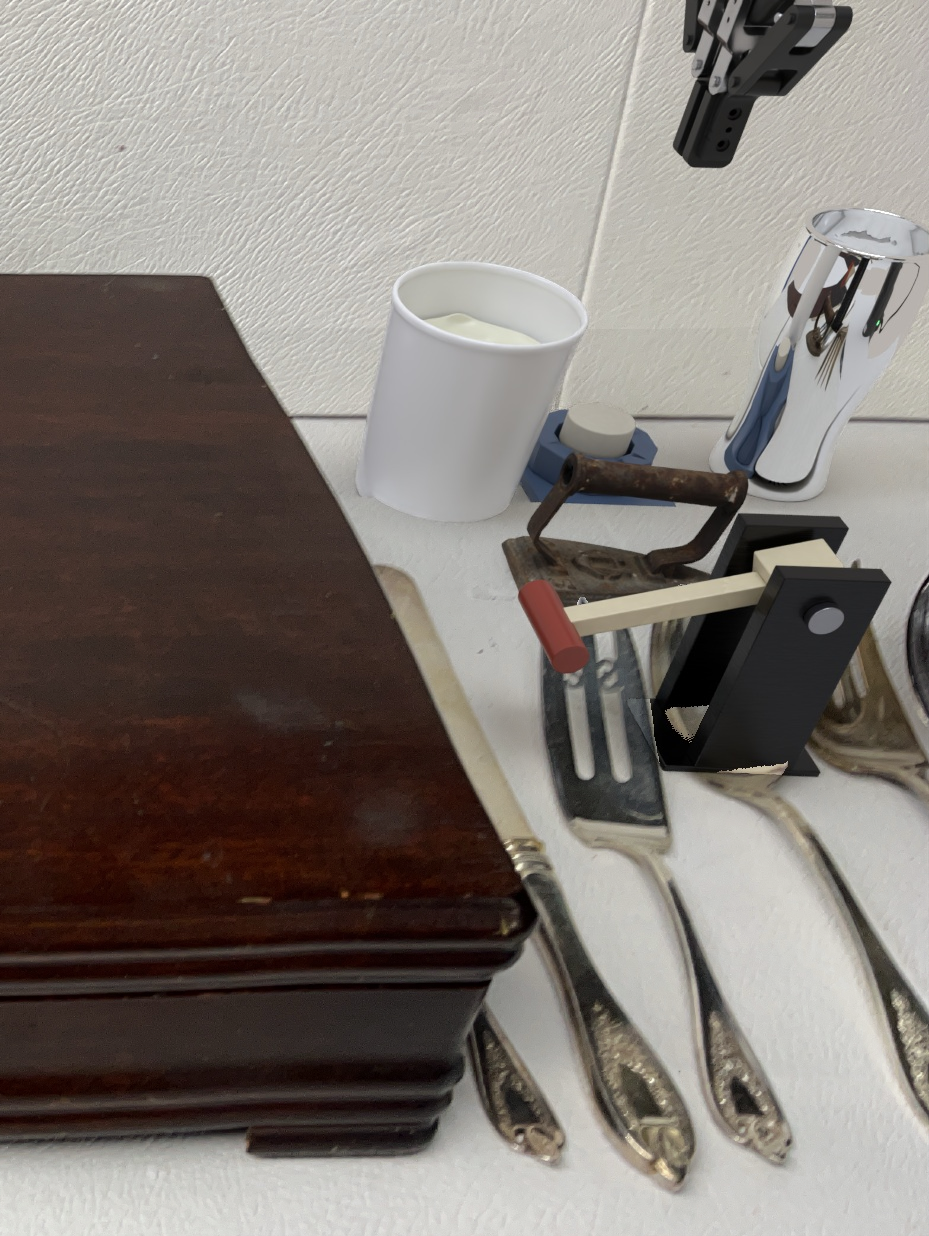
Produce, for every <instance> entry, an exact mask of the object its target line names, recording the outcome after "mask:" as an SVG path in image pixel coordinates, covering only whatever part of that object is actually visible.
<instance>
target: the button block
mask: <svg viewBox="0 0 929 1236" xmlns="http://www.w3.org/2000/svg"><path fill="white" fill-rule="evenodd" d="M568 410H569V409H564V408H563V409H558V410H557V409H556V410H554V411H550V413H549V415H548V417H547V420H546V422H545V424H544V427H543V429H542V431H541V434H540V436H539V438H538V441H537V443H536V445H535V448H534V450H533V452H532V455H531V457H530V459H529V462H528V464H527V466H526V469H525V471H524V473H523V475H522V478H521V480H520V482H519V484H520V485H521V487H522V489H523V491H524V492H525V494H526V496H527V498H528V499H529V501H530V503H540V504H541V503H542V501H543V500H544V499H545V497H546V496H547V494H548V493H549V492H550V491H551V489H552V488H553V487H554V485H555V484H556V482H557V481H558V479H559V474H560V471H561V468H562V465H563V463H564V461H565V459H566V457H567V456H568V455H569V454H571V453H573V452H575V451H573V450H572V449H570V448H568V447H567V446H565V445H563V444H562V443H561V442H560V440H559V435H560V432H561V429H562V426H563V424H564V421H565V418H566V415H567V413H568ZM658 450H659V449H658V447H657V445H656V443H655V442H654V441H653V439H652V438H651V436H650V435H649V433H648V432H646V431H644V430H642V429H641V428H639V427H637V426H636V428H635V431H634V433H633V436H632V438H631V441H630V443H629V446H628V449H627V451H626V453H625V454H624V455H623V456H622V457H619V458H595V457H592V456H588V455H585V454H583V455H584V456H585V457H587V458H590V459H597V460H605V461H613V462H624V463H633V464H641V465H650V466H653V465H652V464H653V463H654V460H655V458H656V455H657V453H658ZM575 453H577V452H575ZM563 504H572V505H573V504H576V505H603V506H604V505H605V506H607V505H608V506H635V507H636V506H637V507H638V506H639V507H665V508H667V507H669V508H677V505H676V504H675V502H669V501H660V500H651V499H644V498H634V497H624V496H613V495H600V494H588V493H575V494H574V495H573V496H569V497H568V498H567V500H566V501H565V502H564V503H563Z"/></svg>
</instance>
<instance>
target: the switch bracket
mask: <svg viewBox="0 0 929 1236" xmlns="http://www.w3.org/2000/svg"><path fill="white" fill-rule="evenodd" d="M849 530H850V528H849V527H848V525H847V524H846V522H845V521H844V520H843V519H842V517H840V516H839V515H812V514H810V515H809V514H805V515H804V514H783V513H782V514H781V513H748V512H737V513H736V517H735V519H734V521H733V523H732V526H731V528H730V530H729V533H728V534H727V537H726V538H725V541H724V544H723V546H722V548H721V550H720V552H719V555H718V557H717V559H716V562H715V563H714V565H713V568H712V570H711V572H710V574H711V575H710V577H709V579H708V580H713V579H719V578H724V577H729V576H735V575H740V574H745V573H751V572H752V571H753V559H754V552H755V551H759V550H764V549H770V548H775V547H780V546H785V545H791V544H796V543H801V542H806V541H812V540H817V539H824V541H825V542H826V543H827V544H828V546H829V547H830V548H831V550H832V551H833V552H834V554H835V555H836V556H837V554H838V552H839V550H840V548H841V546H842V544H843V542H844V540H845V538H846V536H847V534H848V532H849ZM892 583H893V582H892V580H891V579H890V578H889V576H888V575H887V574H886V572H885V571H884V570H883V569H882V568H872V567H871V568H869V567H845V568H843V567H813V566H784V565H776V566H775V568H774V570H773V572H772V574H771V576H770V578H769V580H768V582H767V584H766V587H765V589H764V591H763V593H762V595H761V597H760V599H759V601H758V603H757V604H756V605H750V606H745V607H739V608H734V609H728V610H723V611H718V612H712V613H707V614H701V615H696V616H691V617H690V619H689V622H688V624H687V625H686V628H685V631H684V633H683V635H682V637H681V640H680V642H679V644H678V646H677V648H676V650H675V652H674V655H673V658H672V659H671V662H670V664H669V665H668V669H667V671H666V673H665V675H664V677H663V680H662V682H661V684H660V686H659V689H658V691H657V693H656V695H655V698H654V697H651V698H650V697H649V698H650V703H651V710H652V716H653V724H654V737H655V741H656V746H657V753H658V756H659V762H660V765H659V767H660V769H661V770H662V771H663V772H674V773H675V772H677V773H702V774H704V773H705V774H718V773H717V772H719V771H721V770H722V771H727V770H729V771H732V770H734V769H736V770H737V769H738V768H742V769H743V768H745V769H746V768H750V767H752V768H753V767H757V766H761V767H762V766H764V765H765V766H771V765H772V766H774V765H776V764H784V763H786V762H787V761H788V767H787V768H786V769H785V771H784V773H783V774H782V776H781V777H804V778H805V777H807V778H818V777H819V776H820V775H821V770H820V769H819V767H818V765H817V764H816V762H815V761H814V760H813V759H814V758H813V757H812V756H811V755H810V754H809V752H808V750H807V749H806V746H807V744H808V742H809V741H810V738H811V736H812V734H813V732H814V730H815V728H816V727H817V725H818V723H819V721H820V719H821V717H822V716H823V713H824V712H825V710H826V707H827V706H828V704H829V702H830V700H831V698H832V696H833V694H834V693H835V691H836V689H837V687H838V685H839V683H840V682H841V679H842V678H843V675H844V673H845V672H846V670H847V668H848V666H849V664H850V663H851V661H852V658H853V656H854V655H855V653H856V651H857V649H858V647H859V646H860V644H861V641H862V640H863V638H864V636H865V634H866V632H867V631H868V628H869V626H870V624H871V623H872V621H873V619H874V617H875V615H876V613H877V612H878V610H879V607H880V606H881V604H882V603H883V600H884V598H885V596H886V595H887V592H888V591H889V589H890V587H891V585H892ZM702 705H703V706H707V705H709V707H708V709H707V711H706V713H705V715H704V717H703V719H702V721H701V723H700V725H699V728H698V730H697V732H696V734H695V736H693V737H694V738H693V737H691V738H693V739H691V738H689V739H691V740H689V739H687V738H688V737H686V738H685V739H687V740H685V739H683V738H684V737H681V736H683V735H680V734H678V733H679V732H676V731H677V730H676V731H675V729H672V728H674V727H672V726H673V725H671V723H670V721H668V720H669V719H667V718H668V717H667V715H666V714H665V713H666V712H665V710H666V711H667V709H670V708H671V707H672V708H673V707H681V708H682V707H685V708H686V707H691V706H692V707H694V706H697V707H698V706H702ZM681 734H682V733H681ZM688 735H689V734H688ZM692 735H693V734H692ZM688 740H689V741H688ZM690 741H692V742H690ZM689 742H690V743H689Z"/></svg>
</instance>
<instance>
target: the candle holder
mask: <svg viewBox="0 0 929 1236" xmlns="http://www.w3.org/2000/svg"><path fill="white" fill-rule="evenodd" d="M589 316H590V315H589V312H588V310H587V308H586V306H585V305H584V303H583V302H582V301H581V300H580V299H579V297H577V296H576V295H574V294H573V293H572V292H571V291H570V290H568V289H566V288H565V287H563V286H562V285H560V284H558V283H556V282H554V281H552V280H550V279H548V278H547V277H543V276H540V275H538V274H536V273H533V272H529V271H526V270H523V269H519V268H515V267H511V266H506V265H502V264H497V263H489V262H483V261H469V260H449V261H439V262H438V261H436V262H432V263H431V262H430V263H426V264H423V265H419V266H416V267H413V268H410V269H408V270H407V271H405V272H403V273H402V274H400V276H398V278H397V279H396V280H395V281H394V283H393V285H392V288H391V291H390V303H389V309H388V313H387V319H386V323H385V328H384V332H383V336H382V337H383V338H382V342H381V347H380V352H379V357H378V361H377V366H376V370H375V375H374V379H373V383H372V384H373V385H372V390H371V393H370V400H369V404H368V409H367V413H366V418H365V423H364V427H363V432H362V437H361V442H360V447H359V452H358V457H357V462H356V468H355V474H354V475H355V476H354V482H355V488H356V490H357V493H358V494H359V496H360V497H361V498H374V499H376V500H377V501H379V502H380V503H382V504H384V505H386V506H388V507H390V508H392V509H393V510H396V511H398V512H401V513H403V514H406V515H409V516H412V517H416V518H419V519H423V520H428V521H434V522H439V523H441V522H442V523H452V524H453V523H456V524H457V523H458V524H463V523H464V524H465V523H475V522H480V521H485V520H488V519H491V518H494V517H496V516H498V515H500V514H502V513H503V512H505V510H507V508H508V507H509V506H510V504H511V502H512V500H513V498H514V496H515V494H516V491H517V489H518V487H519V484H520V480H521V478H522V475H523V473H524V471H525V469H526V466H527V464H528V462H529V459H530V457H531V455H532V452H533V450H534V448H535V445H536V443H537V441H538V438H539V436H540V434H541V431H542V429H543V427H544V424H545V422H546V420H547V417H548V415H549V413H551V410H552V408H553V406H554V403H555V401H556V398H557V396H558V394H559V392H560V390H561V387H562V384H563V382H564V380H565V377H566V375H567V373H568V371H569V369H570V366H571V364H572V362H573V360H574V358H575V355H576V352H577V350H578V348H579V346H580V343H581V341H582V339H583V338H584V336H585V335H586V333H587V331H588V328H589V324H590V317H589Z"/></svg>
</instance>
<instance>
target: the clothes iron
mask: <svg viewBox="0 0 929 1236" xmlns="http://www.w3.org/2000/svg"><path fill="white" fill-rule="evenodd" d="M748 486H749V483H748V475H747V473H746V472H745V471H743V470H733V471H730V472H728V473H727V474H723V473H714V472H713V471H705V470H704V471H702V470H693V469H685V468H677V467H676V468H675V467H667V466H658V465H651V466H650V465H641V464H633V463H624V462H613V461H605V460H597V459H590V458H587V457H585V456H584V455H583V454H582V453H575V452H573V453H571V454H569V455H568V456H567V457H566V459H565V461H564V463H563V465H562V468H561V471H560V474H559V479H558V481H557V482H556V484H555V485H554V487H553V488H552V489H551V491H550V492H549V493H548V494H547V496H546V497H545V499H544V500H543V501H542V503H541V502H540V504H539V505H538V506H537V508H536V509H535V511H534V512H533V513H532V515H531V516H530V518H529V520H528V522H527V525H526V531H527V534H528V535H521V536H518V537H515V538H514V537H513V538H512V537H511V538H510V537H509V538H507V539H506V540H504V541H503V542H502V543H501V548H502V551H503V555H504V557H505V559H506V562H507V566H508V568H509V571H510V573H511V576H512V579H513V582H514V584H515V586H516V589H517V592H518V593H519V591H520V589H521V588H522V587H523V586H524V585H525V584H527V583H529V582H531V581H534V580H545V581H548V582H550V583H551V584H552V585H553V587H554V589H555V591H556V593H557V595H558V596H559V598H560V600H561V602H562V604H563V606H564V608H565V607H570V606H575V605H577V602H578V600H579V598H580V597H585V598H586V600H587V601H588V603H591V602H597V601H602V600H607V599H612V598H618V597H623V596H628V595H634V594H639V593H644V592H650V591H655V590H660V589H666V588H671V587H676V586H678V585H680V584H690V583H698V582H703V581H708V579H709V577H710V575H711V573H708V572H706V571H703V570H701V569H697V568H694V567H691V566H688V565H691V564H694V563H696V562H699V561H701V560H703V559H704V558H705V557H706V556H707V555H708V554H709V553H710V552H711V551H712V549H713V548H714V547H715V545H716V544H717V543H718V541H719V540H720V538H721V537H722V535H723V534H724V532H725V531H726V530H727V528H728V527H729V526H730V524H731V522H732V521H733V519H734V518H735V516H737V514H738V513H739V511H740V509H741V508H742V506H743V505H744V503H745V501H746V499H747V496H748V494H747V491H748ZM575 493H588V494H600V495H613V496H624V497H634V498H644V499H651V500H660V501H669V502H674V503H677V504H678V503H679V504H687V505H697V506H703V507H709V508H710V507H711V508H714V510H712V513H711V514H710V515H709V517H708V518H707V520H706V521H705V523H704V524H703V525H702V527H701V528H700V529H699V531H698V532H697V534H696V535H695V536H694V537H693V538H692V539H691V540H690V541H689V542H688V543H686V544H683V545H679V546H673V547H665V548H664V547H663V548H658V549H652V550H651V551H649V552H648V553H641V552H637V551H632V550H627V549H623V548H617V547H612V546H606V545H601V544H596V543H591V542H589V543H588V542H583V541H576V540H571V539H563V538H562V539H561V538H553V537H545V536H541V535H542V532H543V531H544V529H545V528H546V527H547V526H548V525H549V523H550V522H551V521H552V519H553V518H554V517H555V516H556V514H557V513H558V512H559V511H560V509H561V507H563V505H564V504H565V503H564V502H565V501H566V500H567V498H568V497H569V496H573V495H574V494H575Z"/></svg>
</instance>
